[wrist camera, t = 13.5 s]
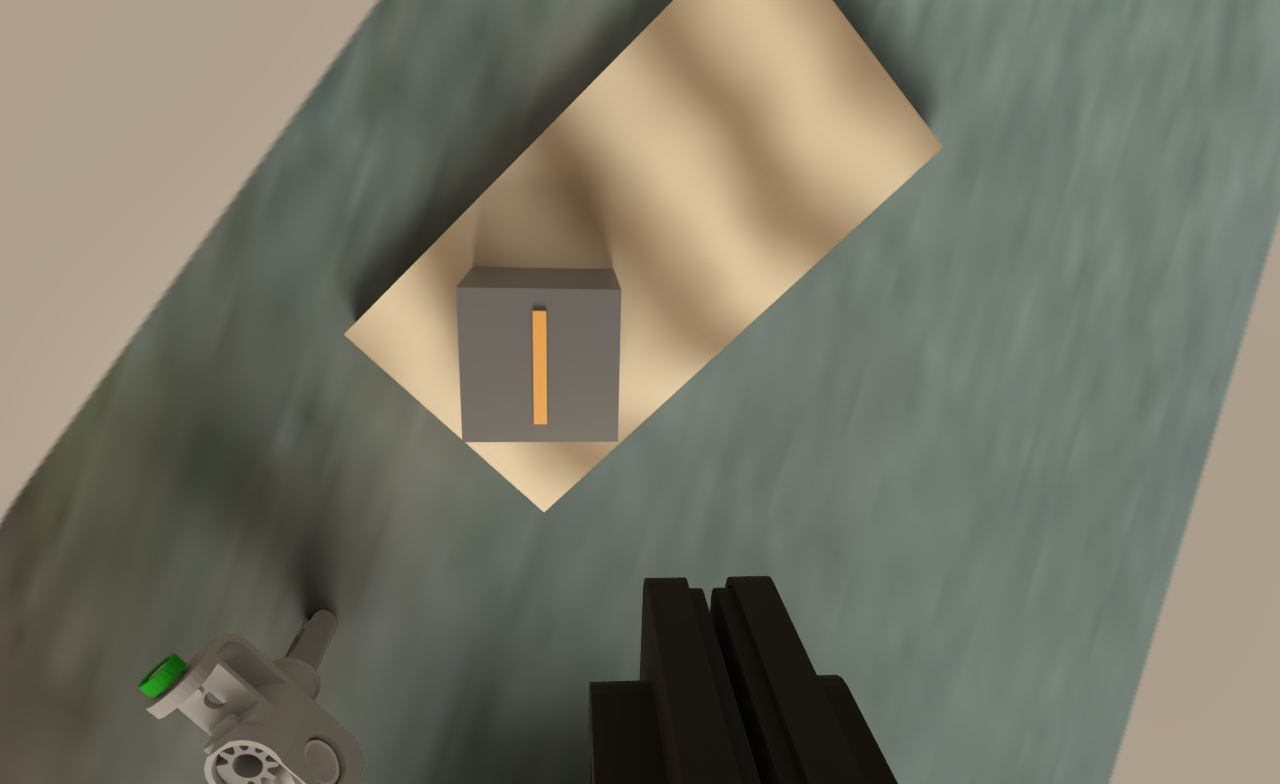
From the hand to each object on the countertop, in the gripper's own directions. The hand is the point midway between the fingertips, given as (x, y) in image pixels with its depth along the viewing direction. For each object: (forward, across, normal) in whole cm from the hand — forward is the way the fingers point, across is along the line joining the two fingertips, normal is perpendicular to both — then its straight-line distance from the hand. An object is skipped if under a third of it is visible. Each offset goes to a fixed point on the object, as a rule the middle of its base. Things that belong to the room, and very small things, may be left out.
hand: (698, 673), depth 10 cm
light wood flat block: (+27, -1, -3) cm, 27 cm away
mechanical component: (+27, +14, +17) cm, 35 cm away
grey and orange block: (+25, +3, +1) cm, 25 cm away
